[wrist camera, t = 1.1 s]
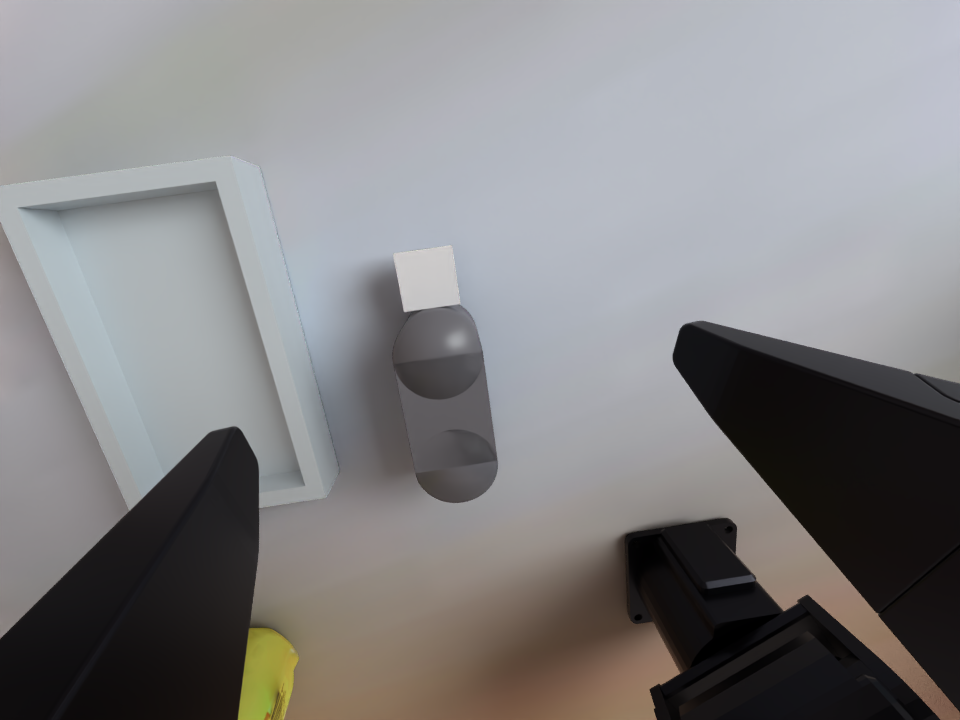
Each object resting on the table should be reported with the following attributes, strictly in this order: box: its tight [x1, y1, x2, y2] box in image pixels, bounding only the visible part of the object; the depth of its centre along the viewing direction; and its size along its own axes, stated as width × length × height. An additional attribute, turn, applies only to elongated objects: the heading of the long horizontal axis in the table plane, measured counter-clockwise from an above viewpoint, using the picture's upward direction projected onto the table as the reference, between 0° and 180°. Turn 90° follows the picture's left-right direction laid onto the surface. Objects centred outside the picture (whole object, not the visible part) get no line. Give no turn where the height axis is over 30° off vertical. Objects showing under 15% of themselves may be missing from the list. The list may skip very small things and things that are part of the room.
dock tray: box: [0, 155, 340, 511], centre depth 18 cm, size 15×9×2 cm, turn 8°
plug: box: [393, 245, 498, 503], centre depth 18 cm, size 11×4×4 cm, turn 7°
